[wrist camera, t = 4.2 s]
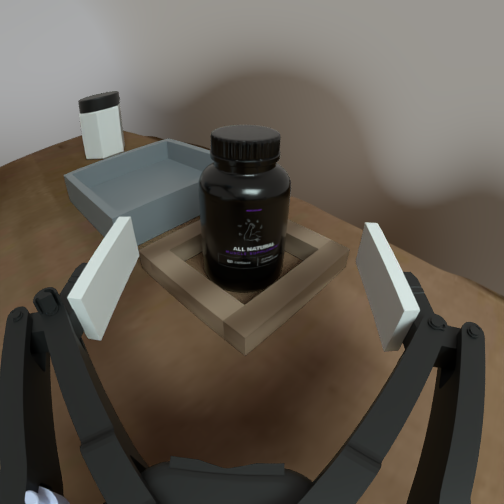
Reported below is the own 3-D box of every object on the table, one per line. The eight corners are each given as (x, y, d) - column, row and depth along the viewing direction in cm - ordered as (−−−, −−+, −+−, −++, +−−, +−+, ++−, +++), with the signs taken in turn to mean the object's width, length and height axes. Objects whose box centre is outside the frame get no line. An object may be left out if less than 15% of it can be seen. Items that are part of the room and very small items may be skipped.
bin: (70, 200, 39) (63, 175, 36) (170, 161, 49) (168, 138, 47) (121, 254, 29) (111, 218, 26) (249, 192, 39) (249, 163, 37)
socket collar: (142, 268, 27) (138, 250, 26) (243, 215, 35) (243, 199, 34) (245, 355, 20) (245, 337, 19) (345, 266, 28) (349, 248, 27)
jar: (134, 145, 58) (128, 89, 51) (112, 159, 52) (103, 97, 45) (100, 146, 60) (93, 94, 52) (78, 160, 53) (68, 103, 46)
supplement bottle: (248, 308, 24) (249, 153, 16) (188, 270, 27) (173, 135, 20) (298, 265, 28) (312, 132, 21) (241, 237, 31) (240, 117, 24)
